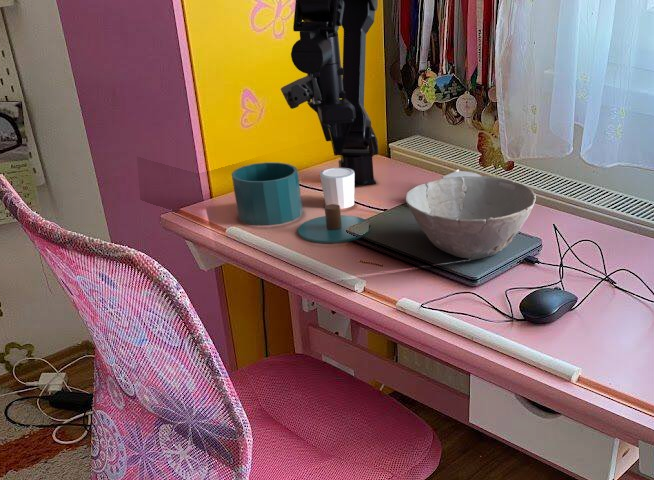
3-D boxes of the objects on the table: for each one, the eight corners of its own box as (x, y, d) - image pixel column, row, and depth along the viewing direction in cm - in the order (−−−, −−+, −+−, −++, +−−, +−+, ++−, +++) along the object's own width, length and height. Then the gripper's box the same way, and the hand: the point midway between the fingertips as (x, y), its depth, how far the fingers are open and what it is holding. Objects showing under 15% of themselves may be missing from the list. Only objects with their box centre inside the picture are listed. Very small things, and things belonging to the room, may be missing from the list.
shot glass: (362, 202, 175) (360, 168, 171) (348, 214, 169) (344, 179, 166) (332, 199, 177) (329, 165, 173) (316, 210, 171) (313, 175, 167)
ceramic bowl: (442, 220, 166) (440, 169, 160) (553, 239, 157) (555, 185, 152) (382, 262, 149) (379, 206, 144) (503, 285, 140) (504, 226, 135)
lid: (361, 216, 168) (359, 191, 165) (378, 240, 157) (376, 214, 155) (293, 225, 164) (289, 199, 162) (305, 250, 154) (302, 223, 151)
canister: (296, 203, 175) (291, 159, 170) (307, 223, 165) (302, 177, 160) (235, 210, 172) (228, 166, 167) (243, 231, 162) (235, 185, 157)
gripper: (273, 55, 163) (284, 138, 172) (289, 76, 148) (300, 165, 157) (331, 51, 166) (339, 133, 175) (352, 70, 151) (359, 159, 160)
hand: (333, 147), depth 166 cm, fingers open, 9 cm apart
